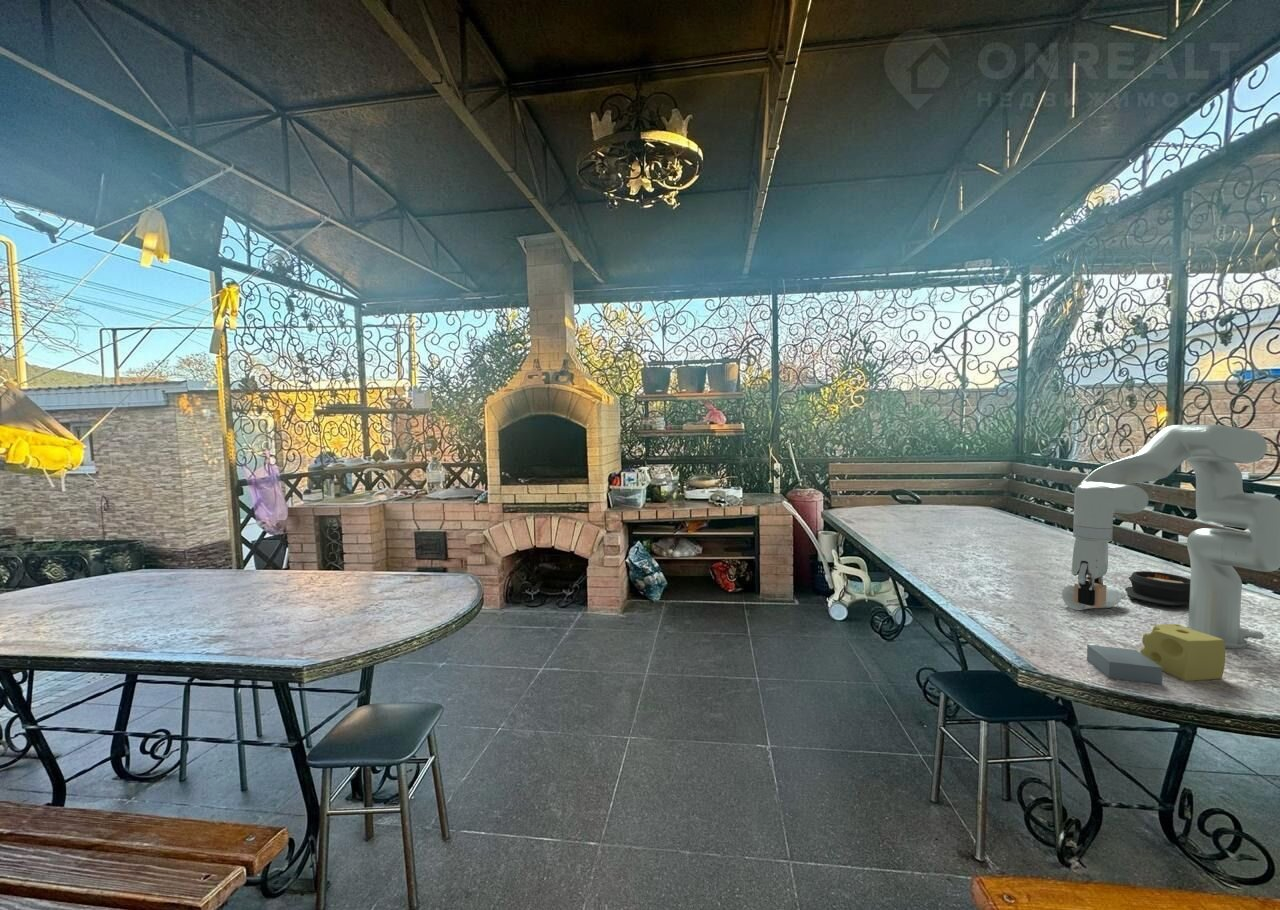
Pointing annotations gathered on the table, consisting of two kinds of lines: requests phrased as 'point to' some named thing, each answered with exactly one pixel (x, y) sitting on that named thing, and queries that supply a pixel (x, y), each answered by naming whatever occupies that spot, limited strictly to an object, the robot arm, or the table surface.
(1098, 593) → the cube
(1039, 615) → the table surface
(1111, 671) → the pedestal
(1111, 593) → the white hollow cylinder
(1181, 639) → the cheese
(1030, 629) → the table surface
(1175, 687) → the table surface
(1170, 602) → the casserole
